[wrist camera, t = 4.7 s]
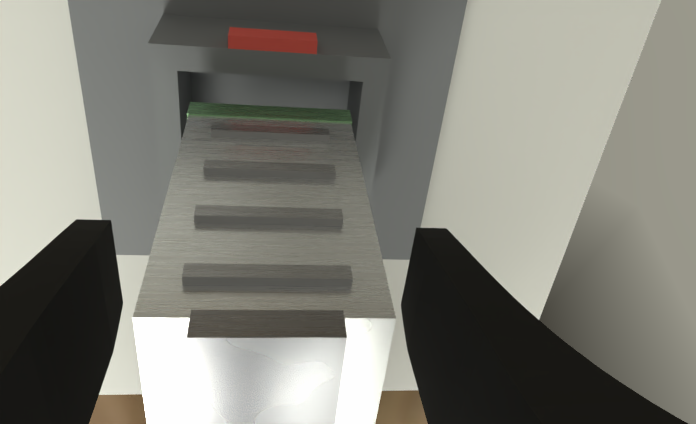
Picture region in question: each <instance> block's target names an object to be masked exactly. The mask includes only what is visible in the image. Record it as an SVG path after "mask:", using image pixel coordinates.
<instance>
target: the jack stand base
mask: <svg viewBox="0 0 696 424" xmlns="http://www.w3.org/2000/svg"><path fill="white" fill-rule="evenodd" d="M660 2H661V0H0V286H1V285H2V284H3V283H5V282H6V281H7V280H8V279H9V278H10V277H11V276H13V275H14V274H15V273H16V272H17V271H18V270H20V269H21V268H22V267H23V266H24V265H25V264H27V263H28V262H29V261H30V260H31V259H32V258H33V257H34V256H36V255H37V254H38V253H39V252H40V251H41V250H42V249H43V248H44V247H46V246H47V245H48V244H49V243H50V242H51V241H52V240H53V239H54V238H56V237H57V236H58V235H59V234H60V233H61V232H62V231H63V230H65V229H66V228H67V227H68V226H69V225H70V224H72V223H73V222H74V221H75V220H76V219H84V220H111V223H112V230H113V237H114V243H115V250H116V257H117V264H118V271H119V278H120V285H121V291H122V298H123V307H122V312H121V317H120V323H119V328H118V333H117V337H116V342H115V347H114V351H113V354H112V357H111V360H110V363H109V366H108V369H107V372H106V375H105V378H104V381H103V384H102V387H101V390H100V393H99V395H113V394H143V391H142V384H141V376H140V369H139V362H138V355H137V347H136V340H135V333H134V325H133V314H134V310H135V307H136V303H137V300H138V296H139V292H140V289H141V285H142V281H143V278H144V274H145V271H146V267H147V263H148V260H149V256H150V252H151V249H152V245H153V242H154V238H155V234H156V231H157V227H158V224H159V220H160V216H161V213H162V209H163V205H164V202H165V198H166V195H167V191H168V187H169V184H170V180H171V176H172V173H173V169H174V166H175V162H176V158H177V155H178V151H179V148H180V144H181V140H182V137H183V133H184V129H185V126H186V122H187V112H188V108H189V105H190V102H201V103H220V104H240V105H259V106H279V107H298V108H318V109H337V110H350V114H351V118H352V130H353V134H354V139H355V143H356V147H357V152H358V156H359V160H360V164H361V169H362V173H363V177H364V182H365V186H366V190H367V195H368V199H369V203H370V208H371V212H372V216H373V221H374V225H375V229H376V234H377V238H378V242H379V247H380V251H381V255H382V259H383V264H384V268H385V272H386V277H387V281H388V285H389V290H390V294H391V298H392V303H393V307H394V311H395V316H396V322H395V327H394V332H393V337H392V342H391V347H390V352H389V357H388V362H387V367H386V372H385V377H384V382H383V387H382V391H398V390H418V387H417V383H416V380H415V376H414V373H413V369H412V365H411V362H410V358H409V354H408V351H407V345H406V339H405V332H404V326H403V318H402V311H401V301H402V296H403V291H404V286H405V281H406V276H407V271H408V266H409V261H410V256H411V251H412V246H413V241H414V236H415V231H416V228H446V229H448V230H449V231H450V232H451V233H452V234H453V236H454V237H455V238H456V239H457V240H458V241H459V242H460V243H461V244H462V245H463V246H464V247H465V248H466V249H467V250H468V251H469V252H470V253H471V254H472V256H473V257H474V258H475V259H476V260H477V261H478V262H479V263H480V264H481V265H482V266H483V267H484V268H485V269H486V270H487V271H488V272H489V273H490V274H491V275H492V276H493V277H494V278H495V279H496V280H497V281H498V282H499V283H500V284H501V285H502V286H503V287H504V288H505V289H506V290H507V291H508V292H509V293H510V294H511V295H512V296H513V297H514V298H515V299H516V300H517V301H518V302H519V303H521V304H522V305H523V306H524V307H525V308H526V309H527V310H528V311H529V312H530V313H531V314H533V315H534V316H535V317H536V318H537V319H538V320H539V319H540V316H541V313H542V311H543V308H544V305H545V303H546V300H547V297H548V295H549V292H550V290H551V287H552V284H553V282H554V279H555V277H556V274H557V271H558V269H559V266H560V263H561V261H562V258H563V256H564V253H565V251H566V248H567V245H568V243H569V240H570V237H571V235H572V232H573V229H574V227H575V224H576V222H577V219H578V217H579V214H580V211H581V209H582V206H583V203H584V201H585V198H586V196H587V193H588V190H589V188H590V185H591V182H592V180H593V177H594V175H595V172H596V170H597V167H598V164H599V162H600V159H601V156H602V154H603V151H604V149H605V146H606V143H607V141H608V138H609V136H610V133H611V130H612V128H613V125H614V122H615V120H616V117H617V115H618V112H619V109H620V107H621V104H622V102H623V99H624V96H625V94H626V91H627V89H628V86H629V83H630V81H631V78H632V75H633V73H634V70H635V67H636V65H637V62H638V60H639V57H640V55H641V52H642V49H643V47H644V44H645V41H646V38H647V36H648V34H649V31H650V28H651V26H652V23H653V20H654V18H655V15H656V13H657V10H658V7H659V5H660Z"/></svg>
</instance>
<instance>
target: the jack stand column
mask: <svg viewBox="0 0 696 424" xmlns="http://www.w3.org/2000/svg"><path fill="white" fill-rule="evenodd" d="M395 322H396V316H395V311H394V307H393V303H392V298H391V294H390V290H389V285H388V281H387V277H386V272H385V268H384V264H383V259H382V255H381V251H380V247H379V242H378V238H377V234H376V229H375V225H374V221H373V216H372V212H371V208H370V203H369V199H368V195H367V190H366V186H365V182H364V177H363V173H362V169H361V164H360V160H359V156H358V152H357V147H356V143H355V139H354V134H353V130H352V118H351V114H350V110H337V109H318V108H298V107H279V106H259V105H240V104H220V103H201V102H190V105H189V108H188V112H187V122H186V126H185V129H184V133H183V137H182V140H181V144H180V148H179V151H178V155H177V158H176V162H175V166H174V169H173V173H172V176H171V180H170V184H169V187H168V191H167V195H166V198H165V202H164V205H163V209H162V213H161V216H160V220H159V224H158V227H157V231H156V234H155V238H154V242H153V245H152V249H151V252H150V256H149V260H148V263H147V267H146V271H145V274H144V278H143V281H142V285H141V289H140V292H139V296H138V300H137V303H136V307H135V310H134V314H133V325H134V333H135V340H136V347H137V355H138V362H139V369H140V376H141V384H142V391H143V398H144V406H145V413H146V420H147V424H375V422H376V417H377V412H378V407H379V402H380V397H381V392H382V387H383V382H384V377H385V372H386V367H387V362H388V357H389V352H390V347H391V342H392V337H393V332H394V327H395Z"/></svg>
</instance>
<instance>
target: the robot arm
mask: <svg viewBox="0 0 696 424" xmlns="http://www.w3.org/2000/svg"><path fill="white" fill-rule="evenodd" d="M122 307H123V298H122V291H121V285H120V278H119V271H118V264H117V257H116V250H115V243H114V237H113V230H112V223H111V220H84V219H76V220H75V221H74V222H73V223H72V224H70V225H69V226H68V227H67V228H66V229H65V230H63V231H62V232H61V233H60V234H59V235H58V236H57V237H56V238H54V239H53V240H52V241H51V242H50V243H49V244H48V245H47V246H46V247H44V248H43V249H42V250H41V251H40V252H39V253H38V254H37V255H36V256H34V257H33V258H32V259H31V260H30V261H29V262H28V263H27V264H25V265H24V266H23V267H22V268H21V269H20V270H18V271H17V272H16V273H15V274H14V275H13V276H11V277H10V278H9V279H8V280H7V281H6V282H5V283H3V284H2V285H1V286H0V424H89V421H90V418H91V416H92V413H93V410H94V407H95V404H96V401H97V398H98V396H99V393H100V390H101V387H102V384H103V381H104V378H105V375H106V372H107V369H108V366H109V363H110V360H111V357H112V354H113V351H114V347H115V342H116V337H117V333H118V328H119V323H120V317H121V312H122ZM401 311H402V318H403V326H404V332H405V339H406V345H407V351H408V354H409V358H410V362H411V365H412V369H413V373H414V376H415V380H416V383H417V387H418V390H419V394H420V397H421V401H422V404H423V408H424V411H425V415H426V418H427V422H428V424H688V423H686V422H684V421H682V420H681V419H679V418H677V417H675V416H674V415H672V414H670V413H669V412H667V411H665V410H663V409H662V408H660V407H658V406H657V405H655V404H653V403H652V402H650V401H649V400H647V399H645V398H644V397H642V396H641V395H639V394H638V393H636V392H635V391H633V390H632V389H630V388H628V387H627V386H625V385H624V384H622V383H621V382H619V381H618V380H616V379H615V378H613V377H612V376H610V375H609V374H607V373H606V372H604V371H603V370H602V369H600V368H599V367H597V366H596V365H594V364H593V363H592V362H591V361H589V360H588V359H587V358H585V357H584V356H583V355H581V354H580V353H579V352H577V351H576V350H575V349H573V348H572V347H571V346H569V345H568V344H567V343H565V342H564V341H563V340H562V339H561V338H559V337H558V336H557V335H556V334H554V333H553V332H552V331H551V330H550V329H549V328H547V327H546V326H545V325H544V324H543V323H542V322H541V321H539V320H538V319H537V318H536V317H535V316H534V315H533V314H531V313H530V312H529V311H528V310H527V309H526V308H525V307H524V306H523V305H522V304H521V303H519V302H518V301H517V300H516V299H515V298H514V297H513V296H512V295H511V294H510V293H509V292H508V291H507V290H506V289H505V288H504V287H503V286H502V285H501V284H500V283H499V282H498V281H497V280H496V279H495V278H494V277H493V276H492V275H491V274H490V273H489V272H488V271H487V270H486V269H485V268H484V267H483V266H482V265H481V264H480V263H479V262H478V261H477V260H476V259H475V258H474V257H473V256H472V254H471V253H470V252H469V251H468V250H467V249H466V248H465V247H464V246H463V245H462V244H461V243H460V242H459V241H458V240H457V239H456V238H455V237H454V236H453V234H452V233H451V232H450V231H449V230H448V229H446V228H416V231H415V236H414V241H413V246H412V251H411V256H410V261H409V266H408V271H407V276H406V281H405V286H404V291H403V296H402V301H401Z"/></svg>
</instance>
